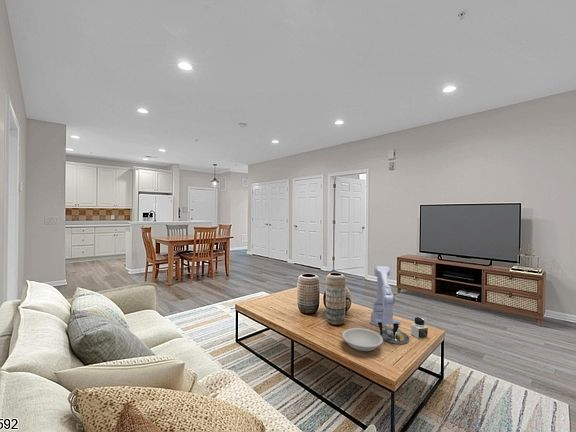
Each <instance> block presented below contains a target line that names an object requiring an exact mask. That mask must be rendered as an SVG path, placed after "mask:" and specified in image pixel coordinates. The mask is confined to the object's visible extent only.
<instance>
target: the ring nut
mask: <svg viewBox="0 0 576 432" xmlns="http://www.w3.org/2000/svg"><path fill="white" fill-rule="evenodd" d="M384 330H386V331H387V335H388V336H389V337H391V338H396V339H398V340H399V341H404V336H403V335H402V332H403V331H402V330H401V329H399V328H398V329H397V331H396V333H395V336H394V335H393V326H391V324H387V325H386V326H384Z"/></svg>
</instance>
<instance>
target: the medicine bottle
mask: <svg viewBox="0 0 576 432" xmlns="http://www.w3.org/2000/svg"><path fill="white" fill-rule="evenodd" d="M425 323H426V321H425V319H424V318H422V317H420V316H419V317H417V316H416V317H415V318H414V323H411V325H410V329H411V330H410V334H411V336H413V337H415V338H416V339H417V340H421V339H422V340H423V339H428V333H429V332H428V331H429V329H428V326H426V325H425Z"/></svg>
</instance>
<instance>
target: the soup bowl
mask: <svg viewBox="0 0 576 432" xmlns="http://www.w3.org/2000/svg"><path fill="white" fill-rule="evenodd" d="M341 336H342V339H343V340H344V341H345V342H346V343H347V344H348V345H349V346H350V347H351V348H352V349H355V350H356V351H361V352H369V351H370V352H371V351H373V350H376V348H378V346H380V345H382V344H383V342H384V340H383V338H382V337H381V335H380V333H378V332H376V331H374V330H371V329H368V328H361V327H351V328H347V329H345V330H344V331H342V334H341Z"/></svg>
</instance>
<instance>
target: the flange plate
mask: <svg viewBox="0 0 576 432" xmlns="http://www.w3.org/2000/svg"><path fill="white" fill-rule="evenodd" d="M379 335H381V334H380V333H379ZM402 335H403V336H404V341H399V340H398V339H396V338H391V337H389V336H388V335H387V331H386V330H385V329H382V335H381V337H382V338H383V342H385V343H387V344H391V345H397V346H398V345H399V346H401V345H403V346H404V345H406V344H408V343H409V342H410V337H409V335H408V334H407V333H406V332H404V331H402Z"/></svg>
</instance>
